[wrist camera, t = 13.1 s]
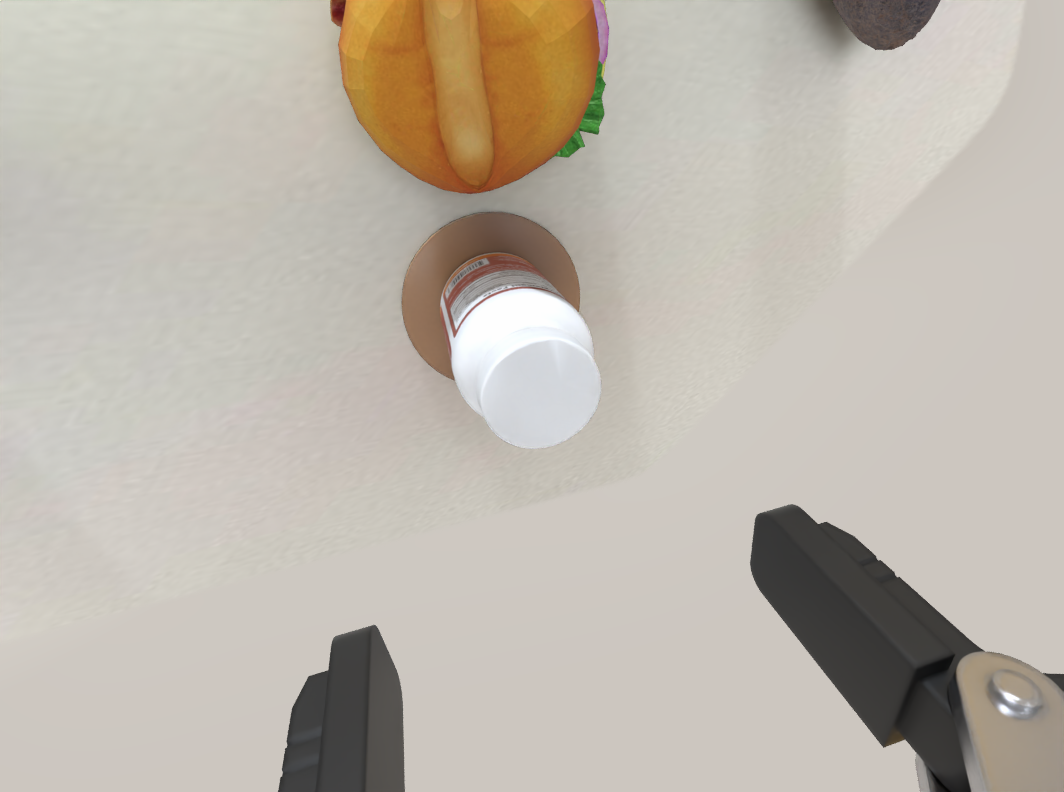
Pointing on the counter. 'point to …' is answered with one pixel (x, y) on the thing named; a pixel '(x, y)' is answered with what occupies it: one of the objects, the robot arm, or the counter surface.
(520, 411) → the pill bottle
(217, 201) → the counter surface
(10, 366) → the counter surface
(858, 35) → the perforated stone tool
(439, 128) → the cheeseburger
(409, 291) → the coaster
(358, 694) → the robot arm
